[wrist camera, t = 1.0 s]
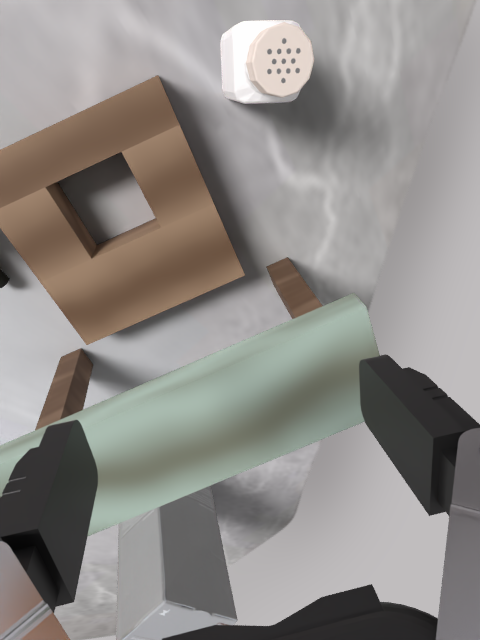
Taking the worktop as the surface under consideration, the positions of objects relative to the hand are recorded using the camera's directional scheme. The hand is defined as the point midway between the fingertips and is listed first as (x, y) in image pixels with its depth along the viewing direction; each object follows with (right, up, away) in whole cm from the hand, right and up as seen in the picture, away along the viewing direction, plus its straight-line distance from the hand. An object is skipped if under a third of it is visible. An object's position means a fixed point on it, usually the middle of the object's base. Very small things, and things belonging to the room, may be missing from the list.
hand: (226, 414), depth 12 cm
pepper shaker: (+1, +20, +17) cm, 27 cm away
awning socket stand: (-8, +9, +22) cm, 25 cm away
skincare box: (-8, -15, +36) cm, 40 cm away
